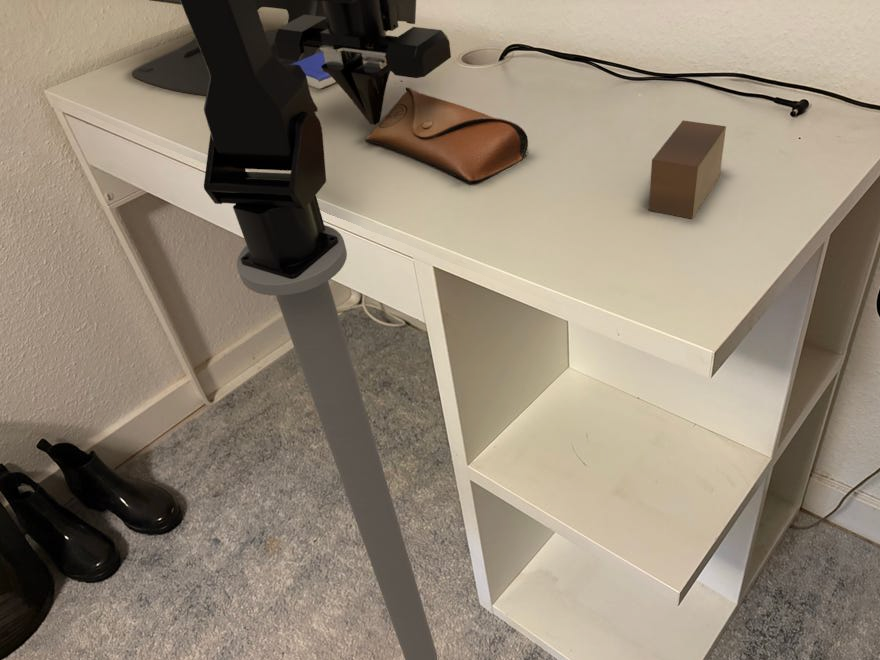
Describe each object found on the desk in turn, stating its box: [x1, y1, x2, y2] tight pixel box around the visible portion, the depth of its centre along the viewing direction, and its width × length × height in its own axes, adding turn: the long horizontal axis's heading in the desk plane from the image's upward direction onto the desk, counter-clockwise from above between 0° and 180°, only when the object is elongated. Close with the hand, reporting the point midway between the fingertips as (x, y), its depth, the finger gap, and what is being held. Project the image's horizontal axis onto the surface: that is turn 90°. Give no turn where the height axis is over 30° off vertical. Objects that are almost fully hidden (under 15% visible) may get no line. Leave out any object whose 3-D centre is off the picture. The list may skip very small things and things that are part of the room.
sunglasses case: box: [364, 86, 529, 183], centre depth 79 cm, size 18×7×7 cm, turn 46°
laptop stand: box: [131, 0, 325, 96], centre depth 102 cm, size 26×24×16 cm
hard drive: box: [291, 51, 337, 90], centre depth 100 cm, size 2×8×12 cm
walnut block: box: [648, 120, 727, 219], centre depth 66 cm, size 8×4×5 cm, turn 150°
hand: (375, 123), depth 82 cm, fingers closed
